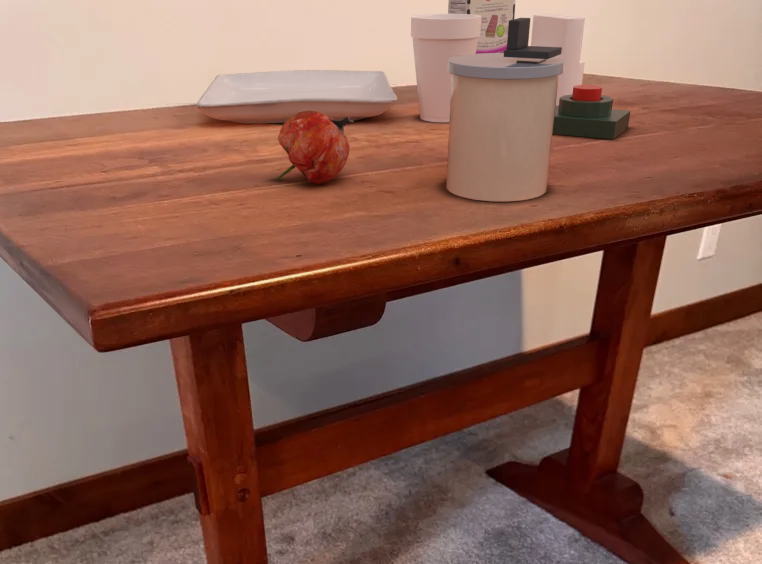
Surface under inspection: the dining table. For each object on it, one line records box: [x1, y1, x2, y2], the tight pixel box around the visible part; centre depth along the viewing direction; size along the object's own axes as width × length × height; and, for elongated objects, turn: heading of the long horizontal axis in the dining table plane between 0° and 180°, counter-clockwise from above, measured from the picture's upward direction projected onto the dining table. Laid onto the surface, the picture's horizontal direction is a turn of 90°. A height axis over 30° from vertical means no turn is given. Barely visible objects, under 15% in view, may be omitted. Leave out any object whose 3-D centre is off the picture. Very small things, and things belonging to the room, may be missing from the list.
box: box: [552, 94, 631, 141], centre depth 104 cm, size 10×8×4 cm
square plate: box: [196, 69, 398, 124], centre depth 119 cm, size 27×27×4 cm
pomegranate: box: [276, 110, 355, 185], centre depth 82 cm, size 7×7×10 cm
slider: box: [504, 17, 562, 59], centre depth 73 cm, size 4×4×3 cm
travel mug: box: [445, 53, 565, 203], centre depth 78 cm, size 11×11×12 cm
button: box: [572, 84, 603, 101], centre depth 102 cm, size 4×4×2 cm
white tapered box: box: [530, 13, 586, 105], centre depth 119 cm, size 9×9×12 cm
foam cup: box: [410, 13, 481, 123], centre depth 110 cm, size 10×9×13 cm
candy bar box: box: [447, 0, 516, 54], centre depth 131 cm, size 11×5×16 cm, turn 129°
